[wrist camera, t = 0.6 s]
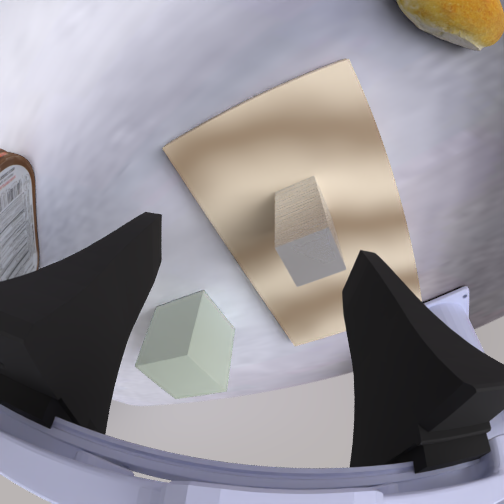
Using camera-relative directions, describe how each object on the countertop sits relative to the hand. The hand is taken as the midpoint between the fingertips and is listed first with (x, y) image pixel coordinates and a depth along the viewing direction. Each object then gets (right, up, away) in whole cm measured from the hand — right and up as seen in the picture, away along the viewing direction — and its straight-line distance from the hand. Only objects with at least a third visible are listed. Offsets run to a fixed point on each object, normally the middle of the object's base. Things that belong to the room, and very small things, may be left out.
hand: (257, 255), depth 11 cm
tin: (-20, +3, +11) cm, 23 cm away
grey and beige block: (+3, +4, +9) cm, 10 cm away
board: (+4, +2, +10) cm, 12 cm away
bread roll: (+12, +17, 0) cm, 20 cm away
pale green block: (-5, -6, +16) cm, 18 cm away
